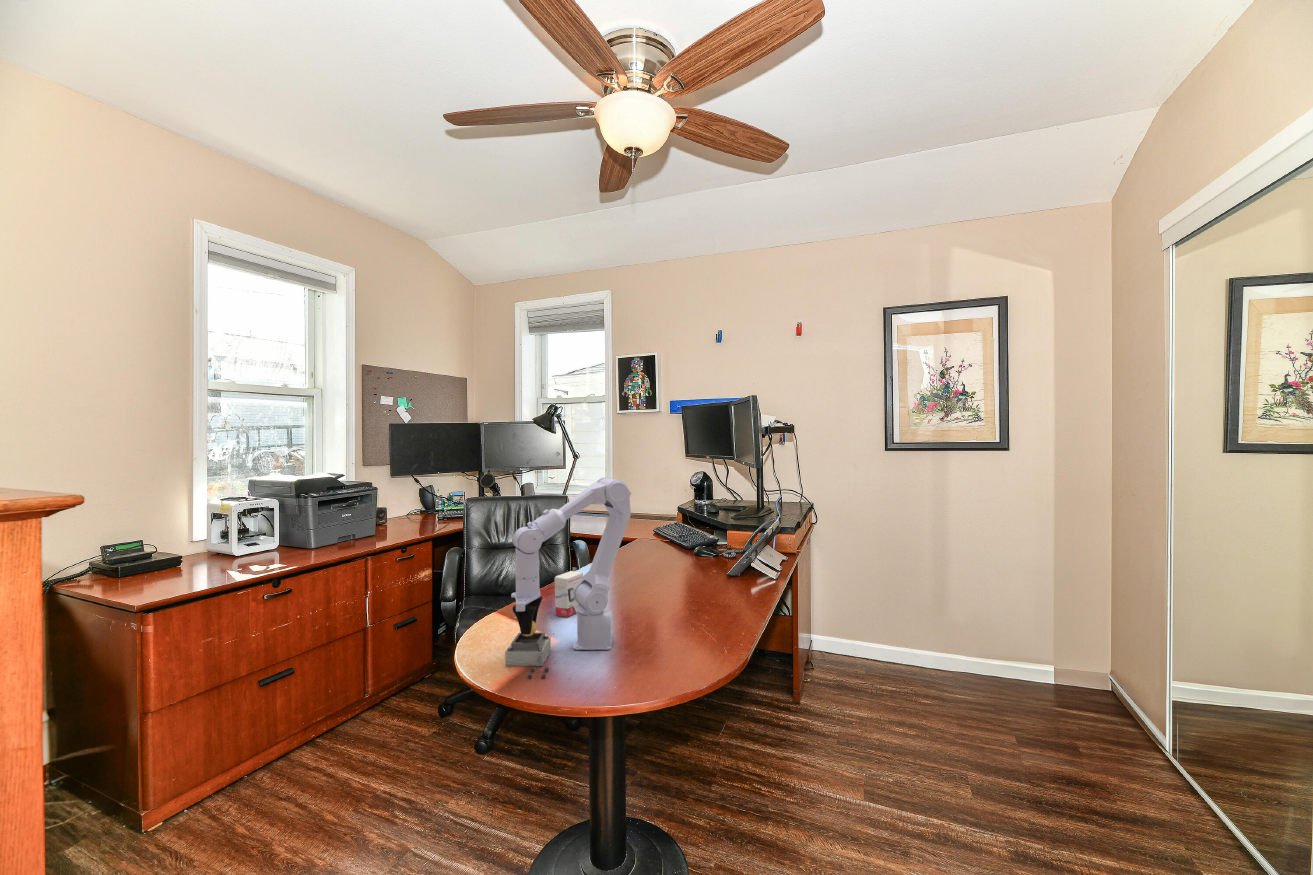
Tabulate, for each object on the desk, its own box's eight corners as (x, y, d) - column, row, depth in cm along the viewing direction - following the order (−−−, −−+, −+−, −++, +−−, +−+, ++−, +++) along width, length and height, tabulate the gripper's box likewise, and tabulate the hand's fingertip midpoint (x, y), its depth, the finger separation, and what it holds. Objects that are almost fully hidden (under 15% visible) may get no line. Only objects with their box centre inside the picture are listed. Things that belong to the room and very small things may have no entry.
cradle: (548, 670, 125) (548, 667, 125) (544, 678, 121) (544, 675, 121) (531, 670, 125) (531, 667, 125) (527, 678, 121) (527, 675, 121)
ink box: (567, 618, 159) (566, 579, 159) (554, 615, 162) (553, 576, 161) (584, 609, 167) (584, 572, 166) (572, 606, 169) (571, 570, 169)
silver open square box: (550, 649, 137) (550, 630, 136) (542, 665, 128) (542, 645, 127) (516, 650, 137) (515, 630, 137) (505, 665, 128) (505, 645, 128)
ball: (528, 631, 135) (528, 616, 135) (540, 634, 133) (539, 618, 133) (516, 637, 131) (516, 621, 131) (528, 640, 129) (528, 624, 129)
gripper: (519, 568, 139) (520, 619, 139) (502, 584, 124) (503, 642, 125) (546, 568, 139) (547, 619, 139) (532, 584, 124) (533, 641, 125)
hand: (528, 630), depth 132 cm, fingers closed on ball, 4 cm apart
